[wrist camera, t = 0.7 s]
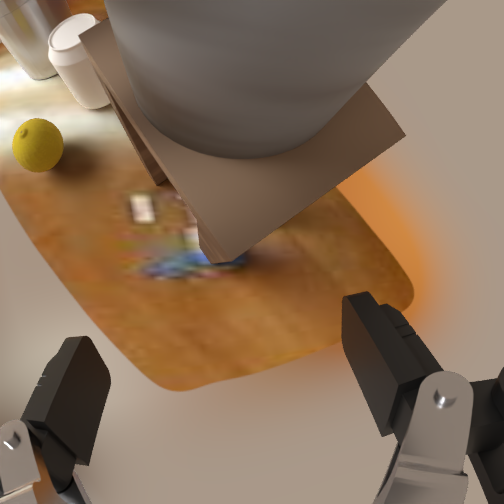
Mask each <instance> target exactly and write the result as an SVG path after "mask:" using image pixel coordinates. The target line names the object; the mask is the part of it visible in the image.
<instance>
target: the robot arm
mask: <svg viewBox="0 0 504 504" xmlns="http://www.w3.org/2000/svg"><path fill="white" fill-rule="evenodd" d="M69 17H72V14H71V12H70V9H69V7H68V4H67V2H66V0H0V40H1V41H2V43H3V44H4V45H5V47H6V48H7V49H8V50H9V52H10V53H11V54H12V56H13V57H14V58H15V59H16V61H17V62H18V63H19V65H20V66H21V67H22V68H23V69H24V71H25V72H26V73H27V74H28V76H29V77H30V78H32V79H37V80H41V79H46V78H49V77H52V76H54V75H56V74H57V73H58V72H57V71H56V69H55V68H54V66H53V65H52V63H51V62H50V60H49V57H48V52H49V44H48V40H49V36H50V34H51V33H52V31H53V30H54V29H55V28H56V27H57V26H58V25H59V24H60V23H61V22H63V21H64V20H66V19H67V18H69ZM342 344H343V348H344V352H345V355H346V357H347V359H348V361H349V363H350V366H351V368H352V370H353V372H354V374H355V377H356V379H357V381H358V383H359V386H360V388H361V390H362V392H363V395H364V397H365V399H366V401H367V404H368V406H369V408H370V411H371V413H372V415H373V417H374V419H375V422H376V424H377V427H378V429H379V431H380V434H381V436H382V437H384V436H387V435H389V434H392V433H394V434H395V437H396V439H397V441H398V442H397V445H396V447H395V450H394V453H393V456H392V459H391V461H390V464H389V466H388V469H387V471H386V474H385V477H384V479H383V481H382V484H381V486H380V488H379V491H378V493H377V495H376V497H375V499H374V502H373V504H464V500H465V496H466V492H467V488H468V475H467V474H466V473H464V472H463V465H464V460H465V455H468V456H469V458H470V461H471V463H472V465H473V467H474V470H475V472H476V474H477V477H478V479H479V481H480V484H481V486H482V489H483V491H484V494H485V496H486V499H487V501H488V504H504V367H503V369H502V370H501V372H500V374H499V376H498V378H495V379H489V380H483V381H476V382H468V381H467V380H466V379H465V378H464V377H463V376H461V375H459V374H457V373H455V372H450V371H444V370H443V369H442V368H441V366H440V365H439V363H438V362H437V361H436V359H435V358H434V356H433V355H432V354H431V352H430V351H429V349H428V348H427V347H426V345H425V344H424V343H423V341H422V340H421V339H420V337H419V336H418V335H416V332H415V331H414V329H413V328H412V327H411V326H409V323H408V321H407V320H406V319H405V317H404V316H403V315H402V313H401V312H400V311H398V310H396V309H395V308H393V307H391V306H390V305H388V304H383V305H378V303H377V302H376V301H375V299H374V298H373V297H372V295H371V294H370V293H369V292H368V291H366V292H361V293H357V294H352V295H348V296H344V297H343V300H342ZM37 385H38V386H36V387H35V389H34V391H33V394H32V396H31V398H30V400H29V402H28V404H27V406H26V409H25V411H24V413H23V415H22V417H21V419H20V420H11V421H9V422H7V423H6V424H4V425H3V426H2V427H1V428H0V504H92V503H91V501H90V499H89V497H88V495H87V493H86V491H85V489H84V487H83V485H82V482H81V480H80V478H79V476H78V474H77V473H76V472H75V471H74V466H75V464H79V465H87V466H89V463H90V458H91V455H92V450H93V446H94V442H95V438H96V435H97V431H98V427H99V424H100V420H101V416H102V413H103V410H104V406H105V403H106V399H107V396H108V392H109V389H110V385H111V377H110V373H109V370H108V368H107V367H106V365H105V363H104V361H103V360H102V358H101V356H100V354H99V353H98V351H97V349H96V347H95V345H94V344H93V342H92V340H91V339H90V338H89V337H88V336H79V337H69V338H66V339H65V341H64V342H63V344H62V346H61V348H60V350H59V352H58V353H57V354H56V355H55V356H54V357H53V358H52V359H51V360H50V361H49V362H48V364H47V366H46V368H45V369H44V371H43V373H42V377H41V378H40V379H39V381H38V383H37Z"/></svg>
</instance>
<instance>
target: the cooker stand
mask: <svg viewBox="0 0 504 504" xmlns="http://www.w3.org/2000/svg"><path fill="white" fill-rule="evenodd" d="M446 1H447V0H104V3H105V6H106V10H107V13H108V17H109V18H107V19H105V20H103V21H102V22H100V23H98V24H96V25H94V26H93V27H91V28H89V29H88V30H86V31H84V32H83V33H81V34H79V35H78V37H79V39H80V41H81V43H82V45H83V47H84V50H85V52H86V54H87V56H88V58H89V60H90V62H91V64H92V66H93V68H94V71H95V73H96V75H97V77H98V79H99V81H100V83H101V85H102V87H103V89H104V91H105V93H106V95H107V97H108V99H109V101H110V103H111V105H112V107H113V108H114V110H115V112H116V114H117V116H118V118H119V120H120V122H121V124H122V126H123V128H124V130H125V131H126V133H127V135H128V137H129V139H130V141H131V143H132V145H133V146H134V148H135V150H136V152H137V154H138V156H139V157H140V159H141V161H142V163H143V165H144V167H145V168H146V170H147V172H148V173H149V175H150V176H151V178H152V179H153V181H154V182H155V184H156V185H157V186H158V185H159V184H160V183H162V182H163V181H165V180H166V179H169V180H170V182H171V183H172V185H173V186H174V188H175V189H176V190H177V192H178V193H179V195H180V196H181V198H182V199H183V200H184V202H185V203H186V205H187V206H188V208H189V209H190V211H191V212H192V213H193V215H194V216H195V218H196V219H197V227H198V236H199V245H200V249H201V250H202V252H203V253H204V254H205V256H206V257H207V259H208V260H209V261H210V263H211V264H214V263H222V262H230V261H233V260H234V259H236V258H237V257H238V256H240V255H241V254H243V253H244V252H245V251H247V250H248V249H250V248H251V247H252V246H254V245H255V244H256V243H258V242H259V241H261V240H262V239H263V238H265V237H266V236H267V235H269V234H270V233H272V232H273V231H274V230H276V229H277V228H278V227H280V226H281V225H283V224H284V223H285V222H287V221H288V220H290V219H291V218H292V217H294V216H295V215H296V214H298V213H299V212H301V211H302V210H303V209H305V208H306V207H308V206H309V205H310V204H312V203H313V202H314V201H316V200H317V199H319V198H320V197H321V196H323V195H324V194H326V193H327V192H328V191H330V190H331V189H333V188H334V187H335V186H337V185H338V184H339V183H341V182H342V181H343V180H345V179H346V178H348V177H349V176H351V175H352V174H353V173H355V172H356V171H358V170H359V169H360V168H361V167H363V166H365V165H366V164H367V163H369V162H370V161H371V160H373V159H374V158H376V157H377V156H378V155H380V154H381V153H383V152H384V151H385V150H387V149H388V148H390V147H391V146H392V145H394V144H395V143H397V142H398V141H399V140H401V139H402V138H404V137H405V136H406V135H405V133H404V132H403V131H402V129H401V128H400V126H399V125H398V123H397V122H396V121H395V119H394V118H393V116H392V115H391V114H390V112H389V111H388V110H387V108H386V107H385V106H384V104H383V103H382V102H381V100H380V99H379V98H378V97H377V95H376V94H375V93H374V91H373V90H372V89H371V88H370V87H369V85H368V84H367V83H366V81H367V80H368V79H369V78H370V77H371V76H372V75H373V74H374V73H375V72H376V71H377V70H378V69H379V67H381V66H382V65H383V64H384V63H385V62H386V60H387V59H388V58H389V57H390V56H391V55H392V54H393V53H394V52H395V51H396V50H397V49H398V48H399V47H400V46H401V45H402V44H403V43H404V42H405V41H406V40H407V39H408V38H409V37H410V36H411V35H412V34H413V33H414V32H415V31H416V30H417V29H418V28H419V27H420V26H421V25H422V24H423V23H424V22H425V21H426V20H427V19H428V18H429V17H430V16H431V15H432V14H433V13H434V12H435V11H436V10H437V9H438V8H439V7H441V6H442V5H443V4H444V3H445V2H446Z"/></svg>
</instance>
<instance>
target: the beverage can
mask: <svg viewBox="0 0 504 504" xmlns="http://www.w3.org/2000/svg"><path fill="white" fill-rule="evenodd" d="M98 23H100V21H98V20H96V19H95V17H94V16H93V15H91V14H78V15H74V16H72V17H69V18H67V19H66V20H64V21H63V22H61V23H60V24H59V25H58V26H57V27H56V28H55V29H54V30H53V31H52V33H51V34H50V36H49V40H48V44H49V52H48V57H49V60H50V62H51V63H52V65H53V66H54V68H55V69H56V71H57V72H58V74H59V75H60V77H61V78H62V80H63V81H64V83H65V84H66V86H67V87H68V88H69V90H70V91H71V93H72V94H73V96H74V97H75V99H76V100H77V101H78V103H79V104H80V105H81V106H83V107H85V108H88V109H97V108H101V107H104V106H106V105H108V104H109V103H110V101H109V99H108V97H107V95H106V93H105V91H104V89H103V87H102V85H101V83H100V81H99V79H98V77H97V75H96V73H95V71H94V68H93V66H92V64H91V62H90V60H89V58H88V56H87V54H86V52H85V50H84V47H83V45H82V43H81V41H80V39H79V37H78V35H79V34H81V33H83V32H84V31H86V30H88V29H89V28H91V27H93V26H94V25H96V24H98Z"/></svg>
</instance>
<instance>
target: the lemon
mask: <svg viewBox="0 0 504 504" xmlns="http://www.w3.org/2000/svg"><path fill="white" fill-rule="evenodd" d="M63 147H64V143H63V138H62V135H61V133H60V131H59V129H58V128H57V127H56V126H55V125H54V124H53V123H51V122H49V121H47V120H45V119H39V118H35V119H30V120H28V121H26V122H25V123H23V124H22V125H21V126H20V127H19V128H18V130H17V131H16V133H15V135H14V138H13V144H12V148H13V153H14V156H15V158H16V160H17V161H18V163H19V164H20V165H21V166H23V167H24V168H25V169H27V170H29V171H32V172H45V171H48V170H49V169H51V168H53V167H54V166H55V165H56V164H57V163H58V161H59V160H60V158H61V156H62V153H63Z"/></svg>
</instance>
